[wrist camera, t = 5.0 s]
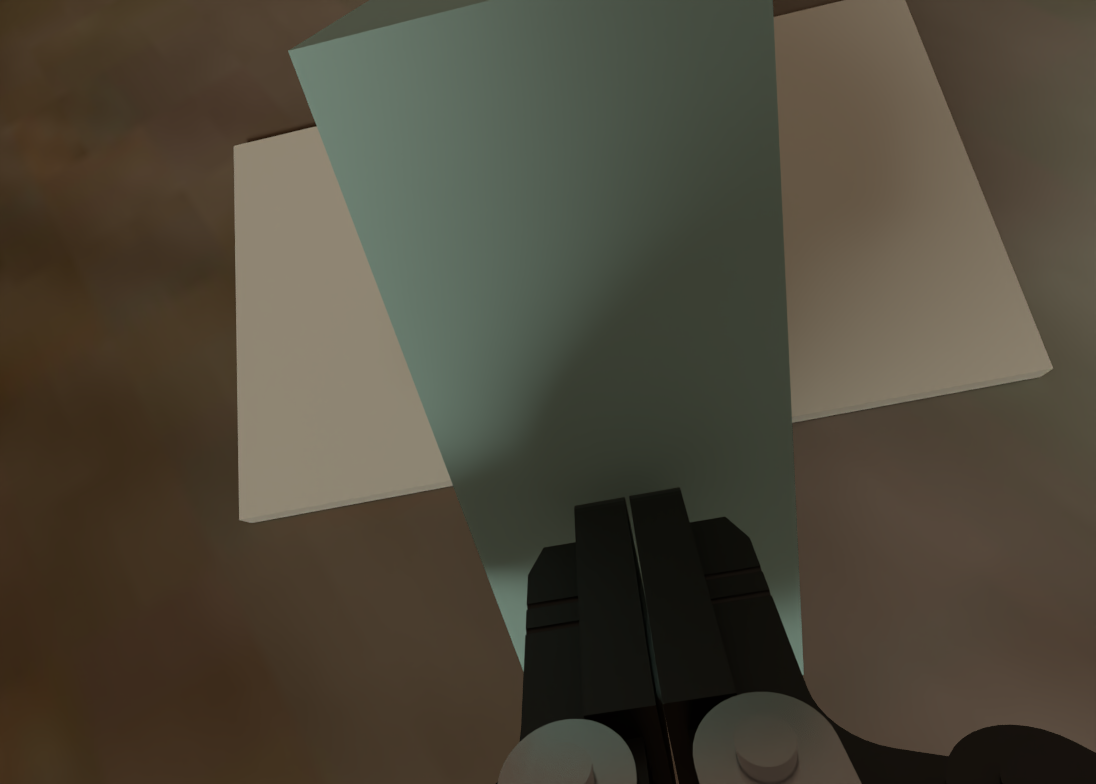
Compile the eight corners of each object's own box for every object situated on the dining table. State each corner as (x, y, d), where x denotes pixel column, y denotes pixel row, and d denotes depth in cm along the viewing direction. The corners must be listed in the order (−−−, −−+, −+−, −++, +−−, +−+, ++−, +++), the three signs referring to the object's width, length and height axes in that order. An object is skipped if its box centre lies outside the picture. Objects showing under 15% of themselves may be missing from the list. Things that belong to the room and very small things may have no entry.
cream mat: (251, 523, 20) (239, 519, 19) (244, 157, 23) (233, 146, 23) (1041, 376, 18) (1053, 368, 17) (893, 3, 21) (899, -14, 21)
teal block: (540, 715, 14) (287, 51, 8) (537, 531, 18) (371, -2, 12) (803, 675, 14) (769, -70, 7) (739, 495, 18) (681, -81, 11)
